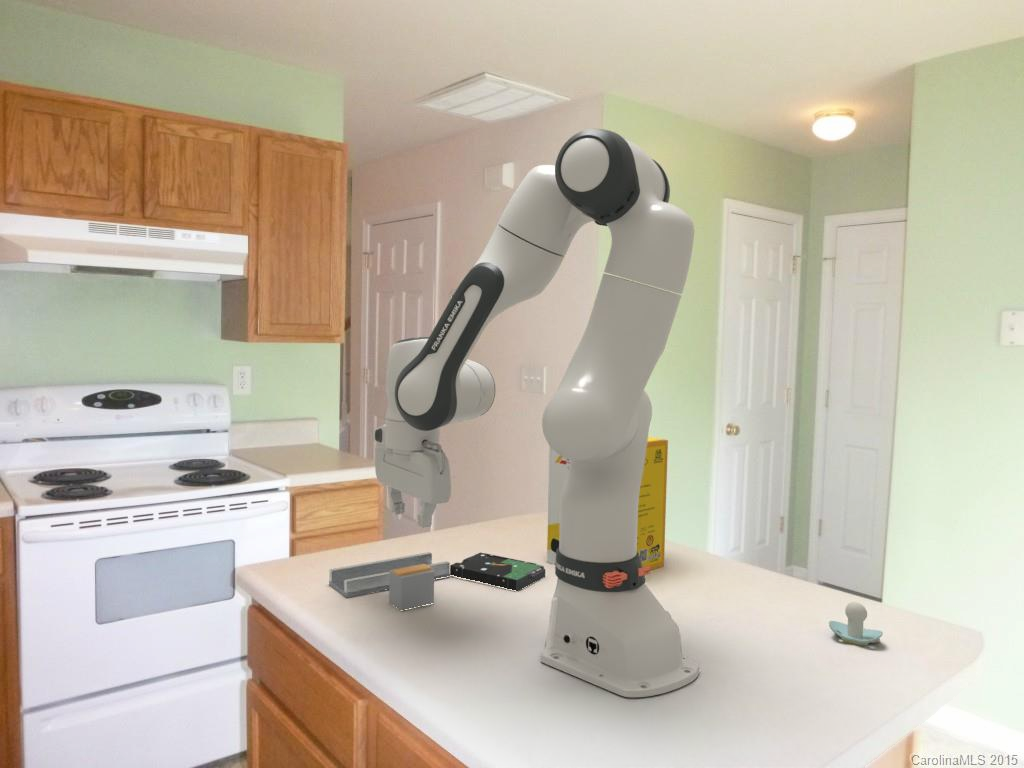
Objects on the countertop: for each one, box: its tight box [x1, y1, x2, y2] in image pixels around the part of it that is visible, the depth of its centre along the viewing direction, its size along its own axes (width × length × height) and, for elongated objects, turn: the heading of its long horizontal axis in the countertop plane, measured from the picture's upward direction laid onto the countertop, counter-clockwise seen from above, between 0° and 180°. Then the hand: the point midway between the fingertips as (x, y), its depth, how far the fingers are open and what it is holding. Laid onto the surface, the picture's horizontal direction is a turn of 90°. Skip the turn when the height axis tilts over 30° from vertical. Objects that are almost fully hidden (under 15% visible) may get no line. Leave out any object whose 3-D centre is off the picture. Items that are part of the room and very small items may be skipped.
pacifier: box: [828, 601, 884, 646], centre depth 114 cm, size 7×6×6 cm
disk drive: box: [449, 552, 546, 592], centre depth 140 cm, size 10×3×15 cm
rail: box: [328, 551, 451, 599], centre depth 136 cm, size 8×20×3 cm, turn 125°
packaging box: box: [546, 436, 669, 573], centre depth 148 cm, size 16×16×25 cm
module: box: [388, 564, 435, 611], centre depth 125 cm, size 4×6×6 cm
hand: (410, 519), depth 125 cm, fingers open, 8 cm apart
